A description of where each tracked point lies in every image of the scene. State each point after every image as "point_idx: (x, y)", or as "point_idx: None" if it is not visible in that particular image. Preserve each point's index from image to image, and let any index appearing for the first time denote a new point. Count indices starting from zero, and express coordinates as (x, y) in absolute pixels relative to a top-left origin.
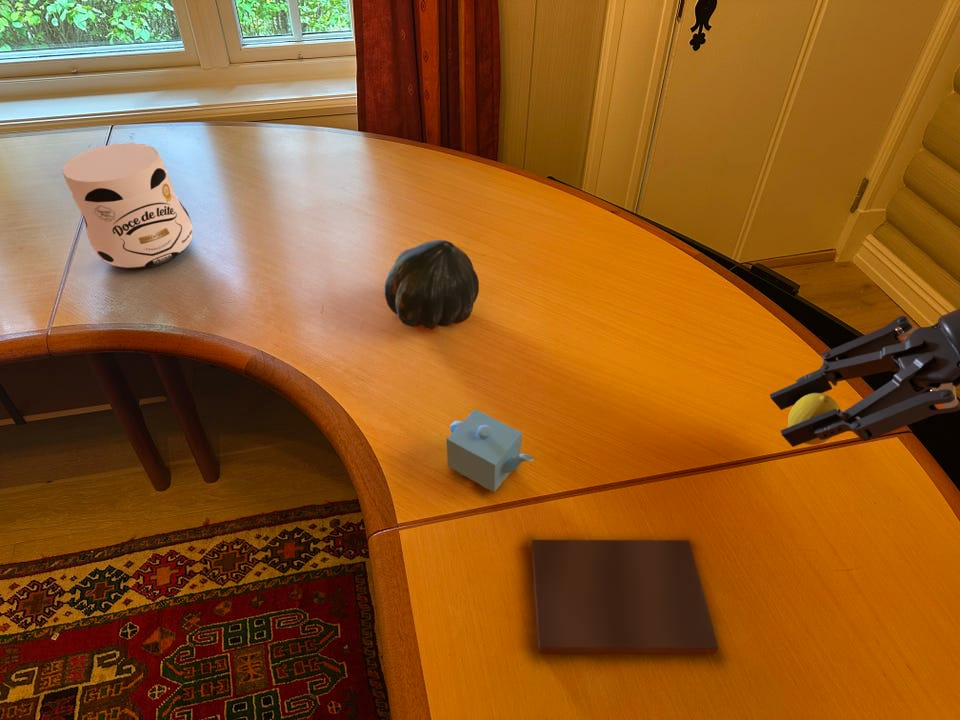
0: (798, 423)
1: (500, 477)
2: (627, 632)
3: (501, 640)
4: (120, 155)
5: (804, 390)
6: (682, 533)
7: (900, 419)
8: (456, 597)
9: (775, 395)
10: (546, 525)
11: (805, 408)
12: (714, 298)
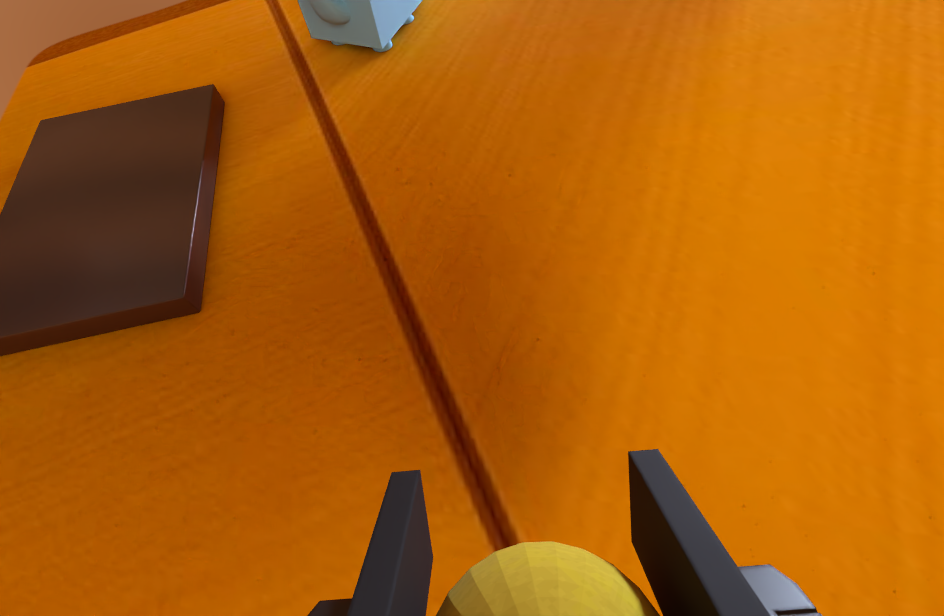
0: (406, 525)
1: (319, 18)
2: (24, 212)
3: (87, 102)
4: None
5: (688, 607)
6: (234, 306)
7: None
8: (157, 54)
9: (641, 463)
10: (263, 112)
11: (504, 573)
12: None
